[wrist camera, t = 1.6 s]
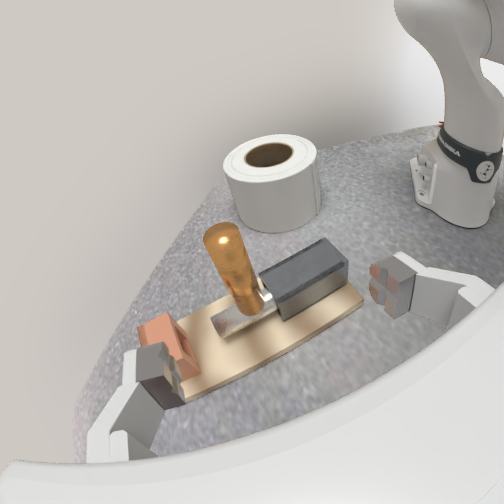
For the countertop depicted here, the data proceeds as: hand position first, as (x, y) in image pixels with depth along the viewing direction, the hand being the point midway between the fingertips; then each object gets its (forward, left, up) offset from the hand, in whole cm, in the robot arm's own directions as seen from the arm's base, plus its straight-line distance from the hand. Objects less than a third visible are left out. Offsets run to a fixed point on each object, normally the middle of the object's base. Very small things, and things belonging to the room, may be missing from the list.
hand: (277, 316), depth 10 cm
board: (-11, -8, -23) cm, 27 cm away
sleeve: (-16, -1, -22) cm, 27 cm away
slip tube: (-13, -5, -21) cm, 25 cm away
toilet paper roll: (-35, -7, -24) cm, 43 cm away
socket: (-5, -17, -22) cm, 28 cm away
